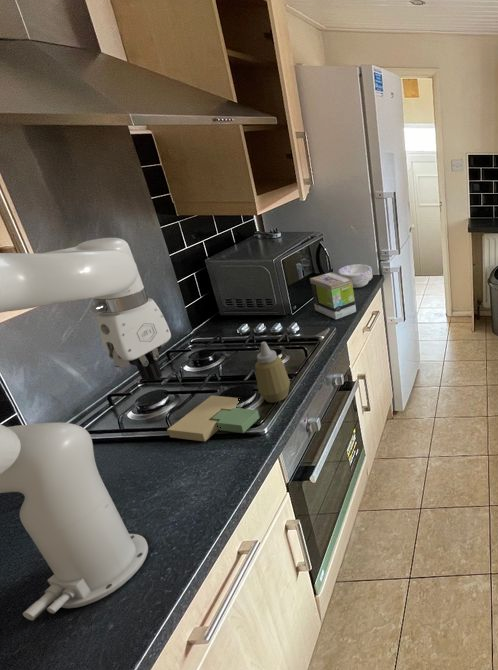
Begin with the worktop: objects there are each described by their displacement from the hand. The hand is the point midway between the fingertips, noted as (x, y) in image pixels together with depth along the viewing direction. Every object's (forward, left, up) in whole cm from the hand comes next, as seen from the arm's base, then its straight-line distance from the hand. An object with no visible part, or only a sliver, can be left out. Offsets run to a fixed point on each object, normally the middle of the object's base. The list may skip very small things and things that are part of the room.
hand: (152, 378), depth 89 cm
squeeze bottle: (+25, -6, -23) cm, 35 cm away
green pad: (+13, -3, -23) cm, 27 cm away
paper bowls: (+110, +13, -23) cm, 113 cm away
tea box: (+81, +7, -23) cm, 84 cm away
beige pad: (+13, +5, -23) cm, 27 cm away
